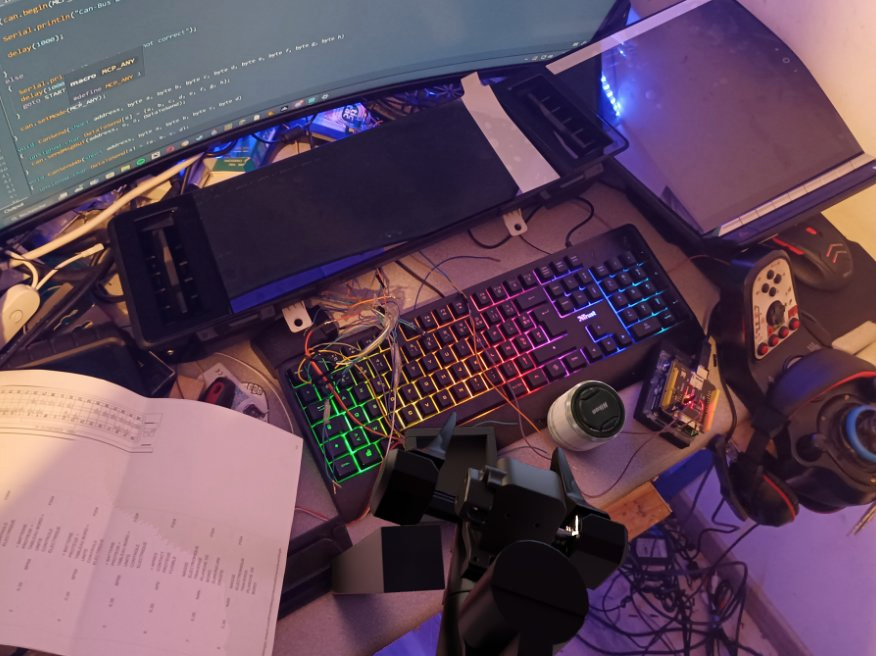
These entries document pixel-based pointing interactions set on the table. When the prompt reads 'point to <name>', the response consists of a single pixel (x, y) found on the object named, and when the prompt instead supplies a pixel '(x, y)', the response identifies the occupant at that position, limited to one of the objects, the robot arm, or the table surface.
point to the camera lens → (586, 416)
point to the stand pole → (392, 562)
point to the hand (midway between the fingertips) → (505, 432)
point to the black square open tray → (456, 455)
